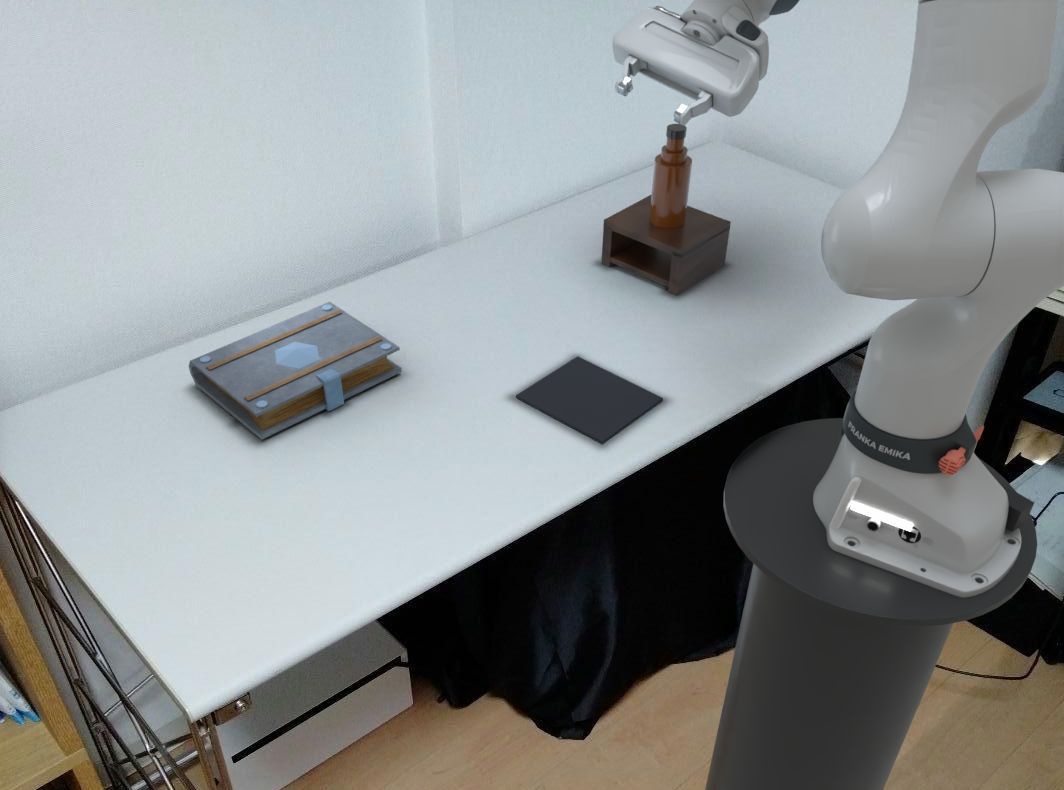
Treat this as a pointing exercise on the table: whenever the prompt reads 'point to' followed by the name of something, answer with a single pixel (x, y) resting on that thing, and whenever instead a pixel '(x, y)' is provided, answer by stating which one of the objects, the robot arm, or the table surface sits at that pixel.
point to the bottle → (671, 181)
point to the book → (295, 369)
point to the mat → (589, 399)
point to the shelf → (665, 246)
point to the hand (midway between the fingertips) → (648, 105)
